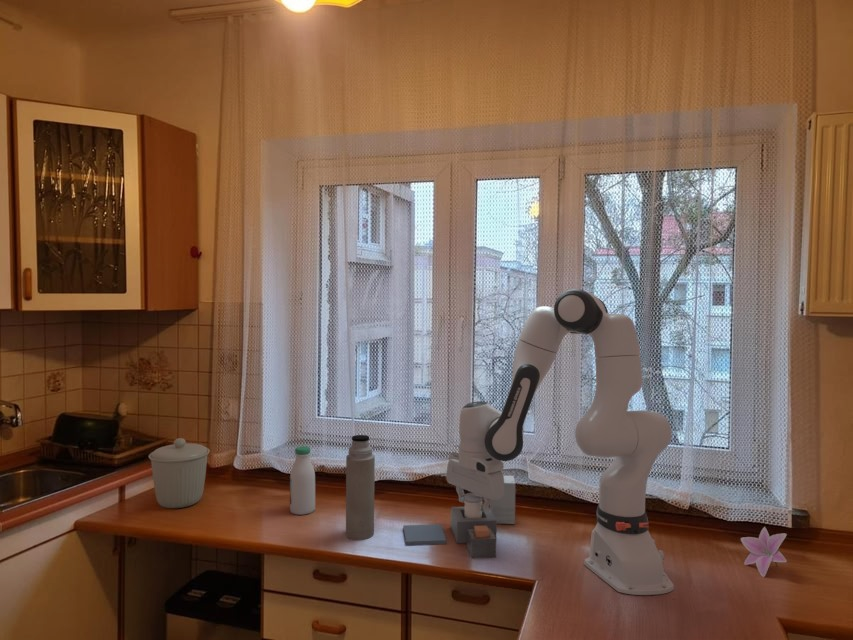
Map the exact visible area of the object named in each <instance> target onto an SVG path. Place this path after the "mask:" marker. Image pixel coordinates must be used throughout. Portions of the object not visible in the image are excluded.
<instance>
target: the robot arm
mask: <svg viewBox="0 0 853 640" xmlns="http://www.w3.org/2000/svg"><path fill="white" fill-rule="evenodd" d="M568 334H576V335H577V334H578V335H579V334H580V335H589V336H590V338H591V340H592V342H593V347H594V359H595V360H594V361H595V384H596V385H595V391H594V396H593V398H592V399H593V400H592V402H591V405H590V407H589V408H588V410H587V411H586V413H585V414H584V415H583V416H582V417H581V418H580V419H579V421H578V422H577V424H576V426H575V429H574V431H575V432H574V433H575V435H574V436H575V440H576V441H575V442H576V444H577V446H578V448H579V449H580V451H581V452H582V453H583V454H585V455H587V456H588V457H589V456H591V457H595V458H614V460H613V462H612V463H611V465H609V466H608V467H607V468H606V469H605V470H603V471H602V473H601V475H600V478H599V481H598V482H599V487H598V488H599V491H598V492H599V493H598V505H597V507H596V521H597V523H596V525H595V526H594V528H593V530H592V531H591V534H590V542H589V543H590V544H589V554H588V557H586V558H585V559H584V563H583V564H584V566H585V567H586V568H588V569H589V570H590V571H592V572H593V573H594V574H595V575H596V576H598V577H599V578H600V579H601V580H603V581H604V582H605V583H607V584H608V585H609V586H610V587H612V588H613V589H614V590H615V591H617V592H619V593H622V594H627V595H632V596H633V595H634V596H636V595H637V596H651V595H663V594H667V593H669V592H670V593H671V592H672V591H674V590H675V585H674V583H673V582H672V581H671V579H670V577H669V576H668V574H667V573H666V572H665V570H664V566H663V565H664V564H663V563H664V562H663V561H664V560H665V554H664V553H665V552H664V551H663V550H660V549H659V550H658V548H657V546H656V541H655V539H653V538H652V536H651V533H650V531H649V529H650V528H649V527H650V526H649V524H650V523H649V519H648V516H647V511H646V493H647V483H648V478H649V476H650V473H651V470H652V468H653V465H654V464H655V461H656V460H657V458H658V457H659V456H660V454H661V453H662V452H663V451H664V450H665V449H667V447H668V446H669V444H670V443H671V440H672V435H673V434H672V427H671V425H670V423H669V420H668V419H667V418H666V417H665V416H664V415H663V414H662V413H660V412H655V411H650V410H644V409H643V410H642V409H641V410H640V409H639V410H628V407H629V403H630V401H631V399H632V398H633V396H634V395H636V394H637V393H639V391H641V390H642V386H643V373H642V372H643V371H642V362H641V361H642V360H641V350H640V349H641V348H640V342H639V338H638V333H637V329H636V326H635V323H634V321H633V320H632V318H631V317H629V316H628V315H625V314H622V313H609V312H608V308H607V306H606V304H605V303H604V302H603V301H602V300H601V299H600V298H599V297H597V296H596V295H595V294H593V293H591V292H588V291H587V290H586V291H585V290H582V289H579V288H574V289H569V290H566V291H564V292H563V293H561V294H560V295H559V296H558V297H557V298H556V300H555V302H554V307H551V306H548V305H540V306H537V307H535V308H534V309H533V310H531V313H530V315H528V318H527V320H526V322H525V323H524V326H523V328H522V330H521V332H520V335H519V337H518V340H517V343H516V346H515V350H514V355H513V361H512V375H511V376H512V377H511V384H510V387H509V388H510V389H509V392H508V395H507V398H506V400H505V403H504V405H503V407H502V410H498V409H497V408H495V407H493V406H492V405H491V404H490V403H489V402H487V401H484V400H483V401H481V400H478V401H473V402H469V403H467V404H465V405H464V406H463V407H462V408H461V410H460V413H459V415H460V416H459V425H458V430H459V431H458V433H459V439H460V440H459V444H458V445H459V446H458V452H456V451H453V452H451V453H450V454H449V455H448V462H447V468H446V477H445V479H446V482H447V483H448V484H450V485H453V486H455V490H456V493H457V495H458V501H459V502H460V503H462V504H465V494H466V493H465V491H468V492H469V493H475V494H477V495H480V496H482V501H483V503H482V505H481V511H483V512H488V511H489V508H490V503H491V501H496V500H499V499H501V498H502V497H503V495H504V476H505V475H504V473H503V472H502V471H503V470H504V462H507V461H512V460H515V459H516V458H517V457H518V456H520V455H521V453H522V450H523V447H524V438H523V437H524V424H525V421H526V418H527V415H528V412H529V410H530V407H531V403H532V401H533V397H534V396H535V394H536V392H537V390H538V388H539V386H540V385H541V383H542V382H543V380H544V379H545V378H546V376H547V374H548V372H550V369H551V367H552V365H553V364H554V361H555V359H556V356H557V355H558V351H559V349H560V346H561V343H562V342H563V339H564V338H565V336H566V335H568ZM464 490H465V491H464ZM459 502H458V503H459Z"/></svg>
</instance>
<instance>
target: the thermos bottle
mask: <svg viewBox="0 0 853 640" xmlns="http://www.w3.org/2000/svg"><path fill="white" fill-rule="evenodd" d="M351 440H352V441H351V446H350V447H348V454H347V455H346V458H345V459H346V461H345V462H346V464H345V465H346V466H345V469H346V470H345V486H346V488H345V536H346V537H347V538H349V539H350V540H356V541H357V540H359V541H361V540H362V541H363V540H368V539H370V538H372V537H373V536H374V535H375V469H376V468H375V467H376V466H375V464H376V463H375V460H376V459H375V457H376V456H375V454H373V452H374V451H373V447H372V446H371V445H370V436H369V435H367V434H356V435H353V436H351Z"/></svg>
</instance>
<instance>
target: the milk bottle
mask: <svg viewBox="0 0 853 640" xmlns="http://www.w3.org/2000/svg"><path fill="white" fill-rule="evenodd" d="M294 451H295V455H294V456H295V460H294V462H293V465H292V468H291V470H290V475H289V478H290V479H289V510H290V512H291V514H292V515H297V516H299V515H301V516H302V515H303V516H304V515H308V514H309V515H310V514H311V513H313V512H315V509H316V473H315V468H314V466H313V464H312V461H311V457H310V455H311V447H310V446H307V445H306V446H304V445H303V446H302V445H301V446H297V447H295V449H294Z"/></svg>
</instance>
